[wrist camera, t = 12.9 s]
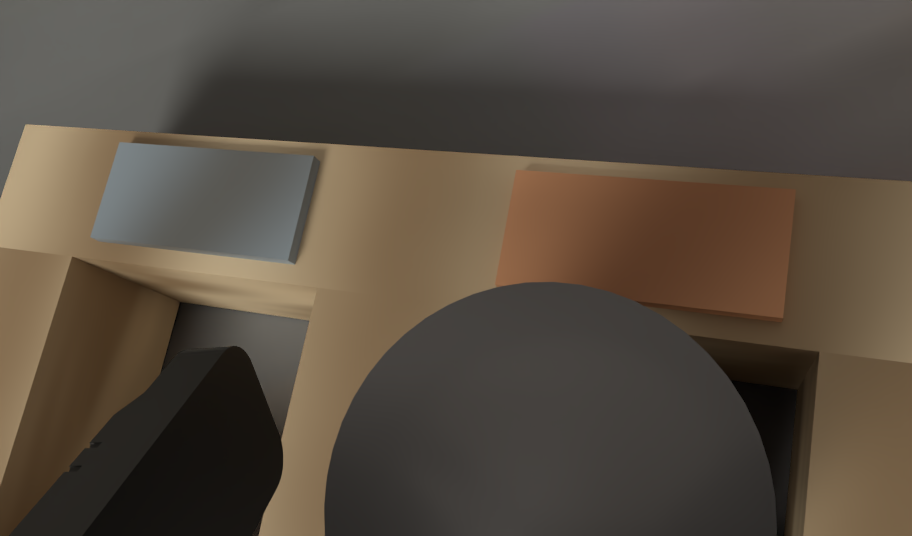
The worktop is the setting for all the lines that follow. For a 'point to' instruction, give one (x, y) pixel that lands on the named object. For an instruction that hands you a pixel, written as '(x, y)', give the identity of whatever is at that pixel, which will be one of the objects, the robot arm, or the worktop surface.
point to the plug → (548, 427)
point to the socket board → (444, 288)
